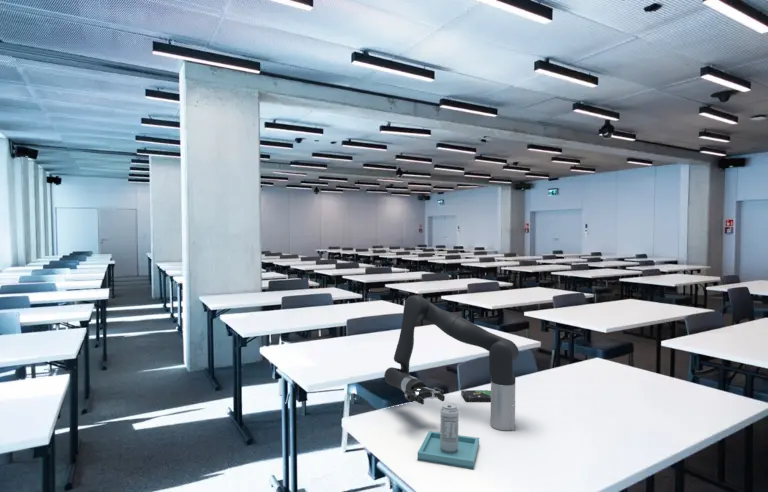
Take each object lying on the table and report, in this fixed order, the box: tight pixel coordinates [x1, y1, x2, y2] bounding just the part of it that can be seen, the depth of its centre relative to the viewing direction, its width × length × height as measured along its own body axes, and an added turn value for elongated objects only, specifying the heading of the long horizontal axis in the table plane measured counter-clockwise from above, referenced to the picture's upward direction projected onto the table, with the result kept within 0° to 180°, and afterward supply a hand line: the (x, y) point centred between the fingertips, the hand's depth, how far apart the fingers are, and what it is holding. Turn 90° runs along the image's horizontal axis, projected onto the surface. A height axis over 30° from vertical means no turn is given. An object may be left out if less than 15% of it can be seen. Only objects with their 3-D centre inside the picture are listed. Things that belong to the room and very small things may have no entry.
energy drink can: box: [439, 402, 460, 453], centre depth 152 cm, size 6×6×15 cm
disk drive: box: [460, 389, 491, 403], centre depth 207 cm, size 10×3×15 cm
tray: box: [417, 430, 480, 470], centre depth 152 cm, size 18×18×2 cm
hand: (433, 400), depth 164 cm, fingers open, 8 cm apart
